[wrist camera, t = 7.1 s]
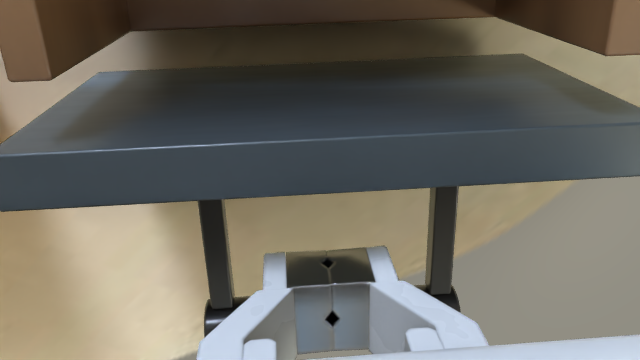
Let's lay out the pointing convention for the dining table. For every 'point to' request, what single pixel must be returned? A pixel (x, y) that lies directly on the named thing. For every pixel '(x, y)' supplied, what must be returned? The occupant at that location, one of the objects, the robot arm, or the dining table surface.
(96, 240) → the dining table surface
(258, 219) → the dining table surface
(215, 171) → the drawer
